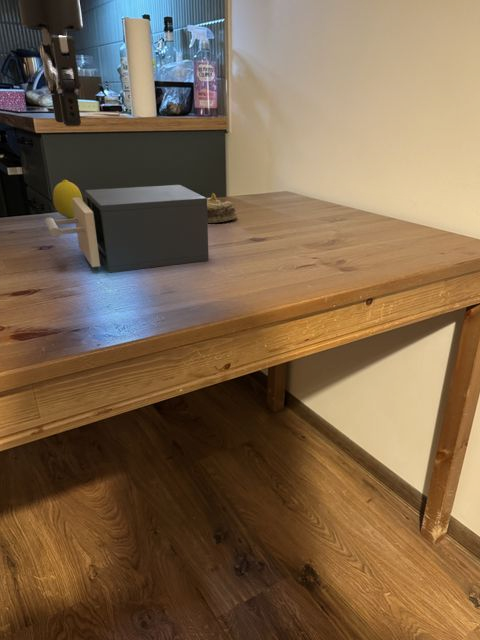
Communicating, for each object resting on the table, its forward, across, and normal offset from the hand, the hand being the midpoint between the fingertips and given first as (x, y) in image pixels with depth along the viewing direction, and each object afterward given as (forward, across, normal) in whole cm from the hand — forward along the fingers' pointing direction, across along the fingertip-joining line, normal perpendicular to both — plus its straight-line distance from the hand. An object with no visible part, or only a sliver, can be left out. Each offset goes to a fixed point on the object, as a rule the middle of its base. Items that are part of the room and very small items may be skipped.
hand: (67, 124), depth 71 cm
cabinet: (+20, +3, +9) cm, 22 cm away
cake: (+20, -18, +29) cm, 40 cm away
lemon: (+20, -27, +1) cm, 33 cm away
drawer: (+19, +3, +4) cm, 19 cm away
